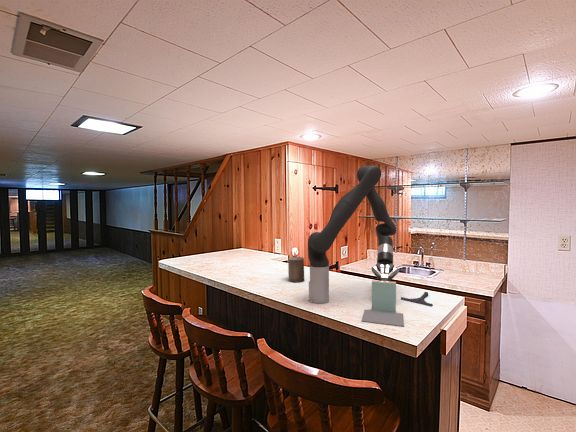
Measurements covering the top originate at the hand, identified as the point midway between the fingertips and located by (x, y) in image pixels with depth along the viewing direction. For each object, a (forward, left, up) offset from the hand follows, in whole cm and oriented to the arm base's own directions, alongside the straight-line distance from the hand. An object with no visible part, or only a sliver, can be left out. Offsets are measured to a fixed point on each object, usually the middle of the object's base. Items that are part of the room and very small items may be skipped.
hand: (384, 286), depth 139 cm
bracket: (+17, +14, -10) cm, 24 cm away
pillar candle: (-52, +28, -9) cm, 60 cm away
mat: (0, -16, -9) cm, 18 cm away
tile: (0, -7, -9) cm, 11 cm away
